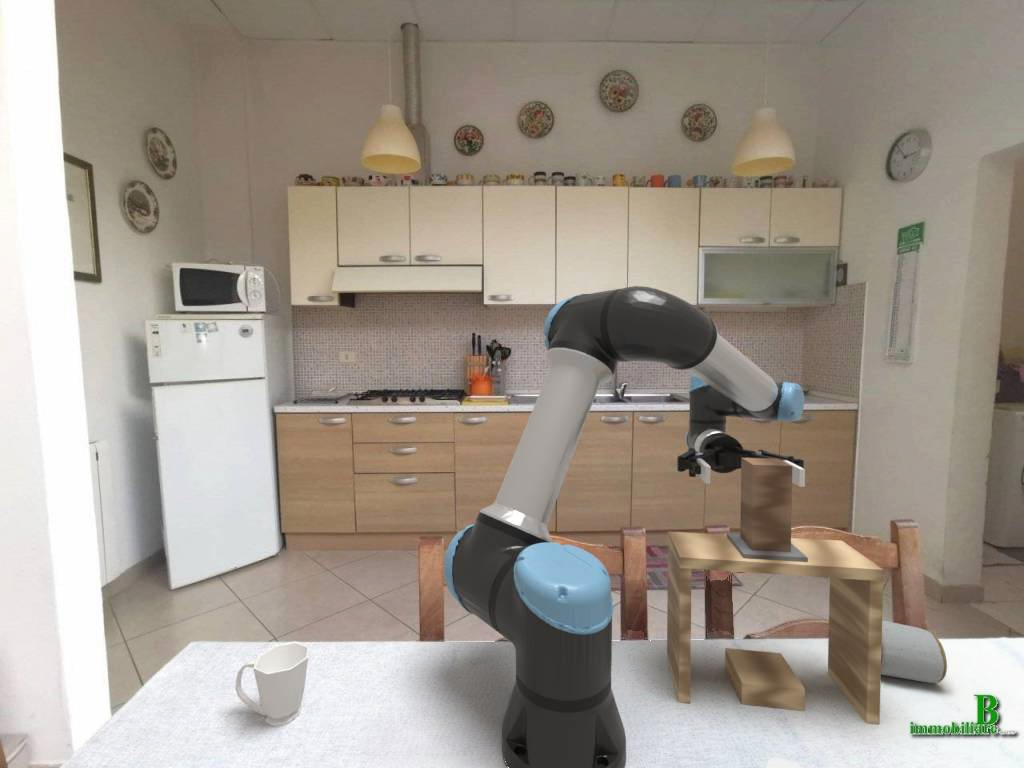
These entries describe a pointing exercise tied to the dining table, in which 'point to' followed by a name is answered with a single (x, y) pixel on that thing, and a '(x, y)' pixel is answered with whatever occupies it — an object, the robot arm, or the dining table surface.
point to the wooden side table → (769, 672)
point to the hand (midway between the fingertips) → (754, 476)
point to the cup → (278, 682)
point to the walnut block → (766, 504)
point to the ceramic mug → (912, 653)
